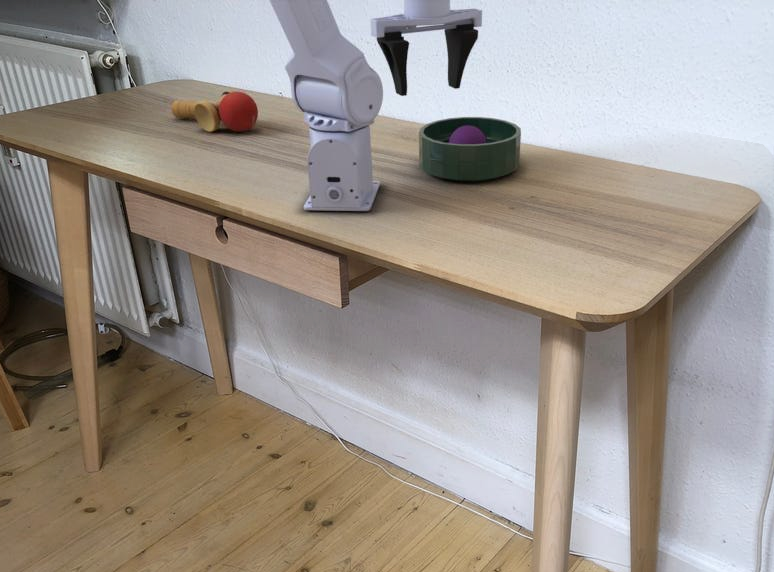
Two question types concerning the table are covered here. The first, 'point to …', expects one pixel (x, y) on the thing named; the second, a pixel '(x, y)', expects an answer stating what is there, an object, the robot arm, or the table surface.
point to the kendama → (220, 111)
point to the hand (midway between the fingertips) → (428, 90)
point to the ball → (467, 136)
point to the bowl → (469, 149)
